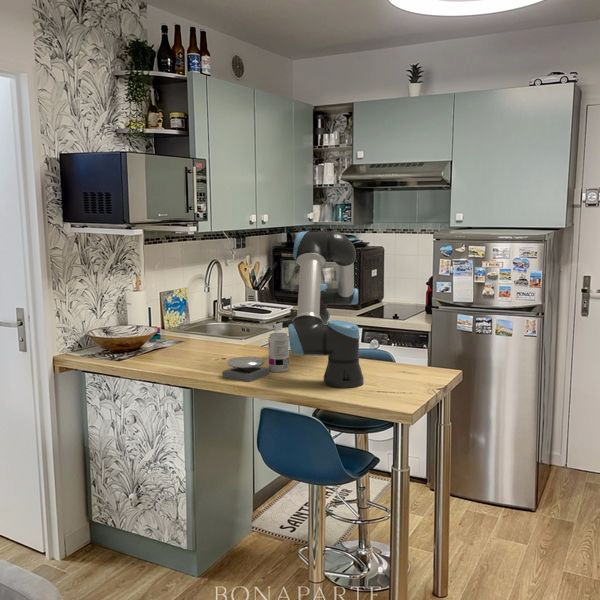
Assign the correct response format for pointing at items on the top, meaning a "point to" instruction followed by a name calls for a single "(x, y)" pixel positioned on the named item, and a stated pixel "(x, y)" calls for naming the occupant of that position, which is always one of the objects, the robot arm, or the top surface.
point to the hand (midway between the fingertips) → (289, 329)
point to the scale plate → (245, 363)
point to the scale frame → (238, 375)
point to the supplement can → (278, 352)
